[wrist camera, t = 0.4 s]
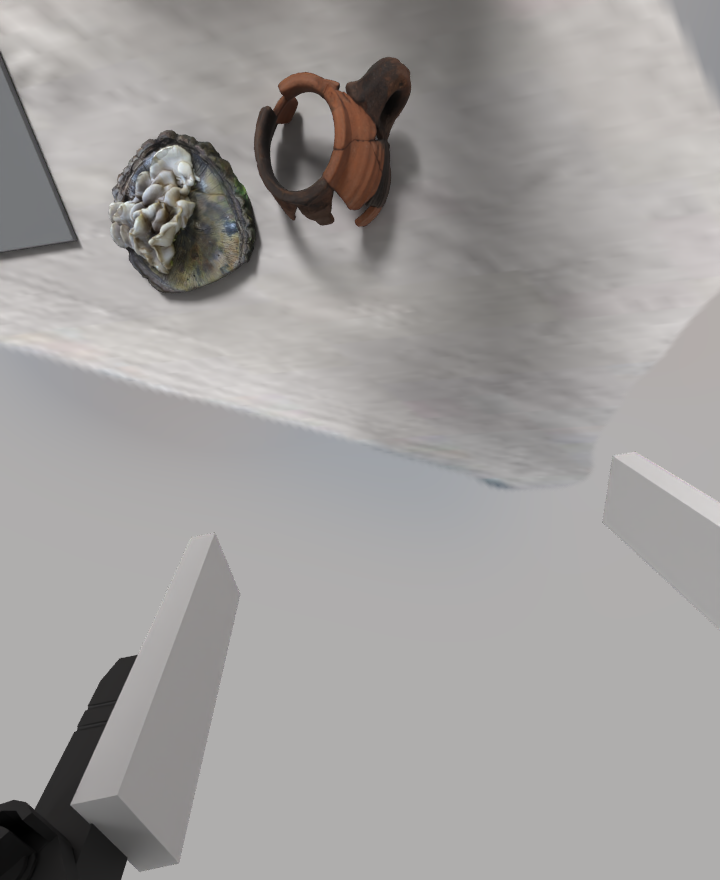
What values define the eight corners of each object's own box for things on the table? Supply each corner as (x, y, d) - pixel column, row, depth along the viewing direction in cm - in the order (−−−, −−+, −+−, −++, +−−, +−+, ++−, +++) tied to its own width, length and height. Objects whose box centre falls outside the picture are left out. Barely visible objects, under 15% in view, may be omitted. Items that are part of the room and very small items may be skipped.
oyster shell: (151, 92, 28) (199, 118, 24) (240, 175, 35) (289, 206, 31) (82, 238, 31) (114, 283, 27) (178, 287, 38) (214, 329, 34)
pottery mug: (350, 263, 34) (301, 247, 27) (285, 186, 35) (219, 150, 28) (454, 133, 29) (427, 69, 21) (373, 44, 29) (320, -48, 22)
